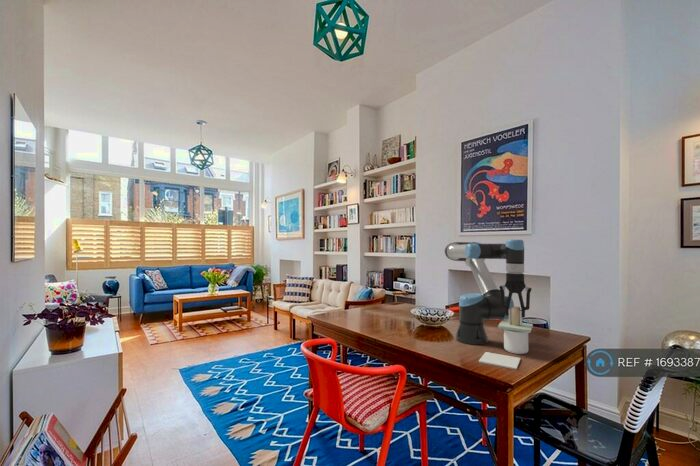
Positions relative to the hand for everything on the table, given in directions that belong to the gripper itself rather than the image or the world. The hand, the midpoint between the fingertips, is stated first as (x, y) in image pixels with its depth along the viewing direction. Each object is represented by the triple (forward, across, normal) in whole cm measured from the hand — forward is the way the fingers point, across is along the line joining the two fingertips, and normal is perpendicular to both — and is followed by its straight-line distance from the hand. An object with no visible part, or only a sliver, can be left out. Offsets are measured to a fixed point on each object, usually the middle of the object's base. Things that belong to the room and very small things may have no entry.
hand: (515, 323), depth 149 cm
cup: (+13, 0, 0) cm, 13 cm away
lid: (+2, 0, 0) cm, 2 cm away
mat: (+12, -4, -18) cm, 22 cm away
